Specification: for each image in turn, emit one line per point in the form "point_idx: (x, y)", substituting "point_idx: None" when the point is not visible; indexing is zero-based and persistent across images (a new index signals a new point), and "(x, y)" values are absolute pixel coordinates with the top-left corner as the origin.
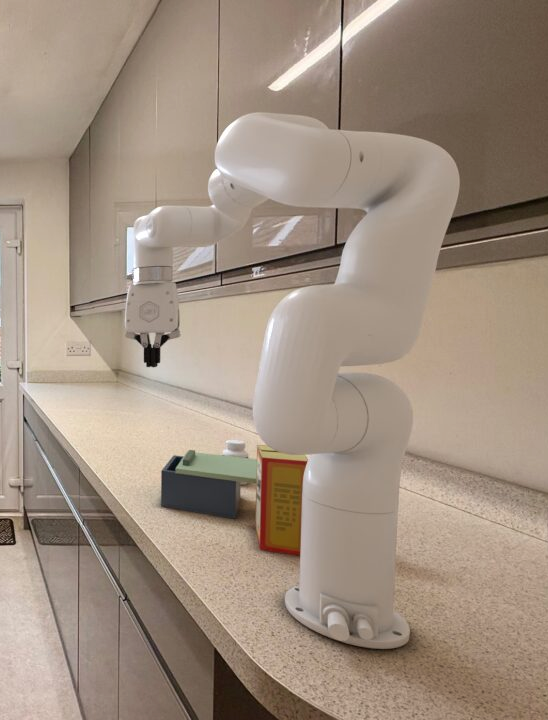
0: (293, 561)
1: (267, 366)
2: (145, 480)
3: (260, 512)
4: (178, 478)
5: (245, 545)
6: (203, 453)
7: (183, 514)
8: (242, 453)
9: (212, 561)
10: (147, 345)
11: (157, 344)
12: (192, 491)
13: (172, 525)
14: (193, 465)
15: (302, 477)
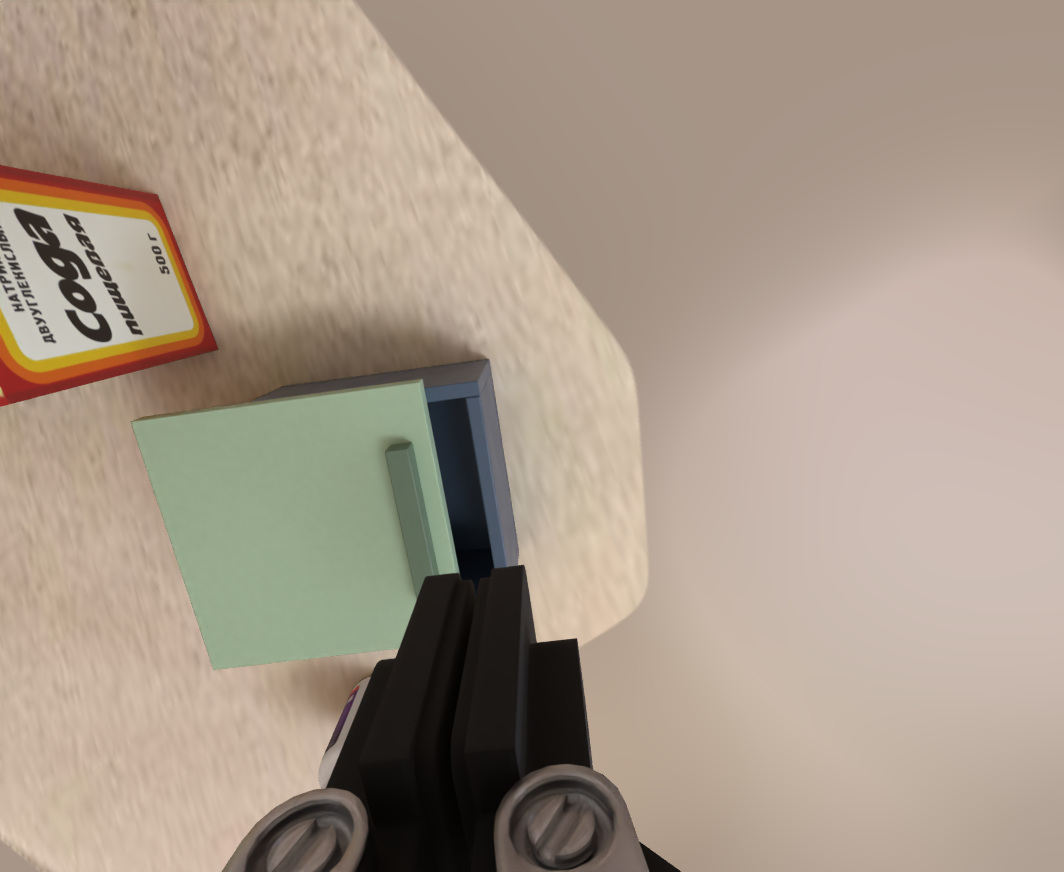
0: (71, 169)
1: None
2: (616, 568)
3: (89, 197)
4: None
5: (195, 199)
6: None
7: (410, 332)
8: (327, 764)
9: (220, 16)
10: (498, 810)
11: (288, 867)
12: (381, 383)
13: (404, 218)
14: (378, 460)
15: None
